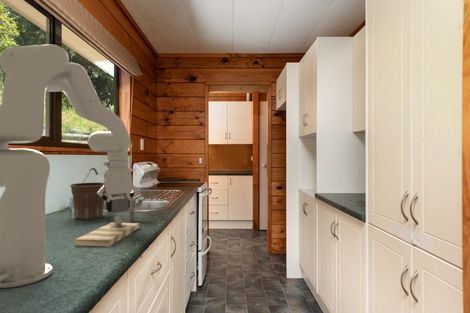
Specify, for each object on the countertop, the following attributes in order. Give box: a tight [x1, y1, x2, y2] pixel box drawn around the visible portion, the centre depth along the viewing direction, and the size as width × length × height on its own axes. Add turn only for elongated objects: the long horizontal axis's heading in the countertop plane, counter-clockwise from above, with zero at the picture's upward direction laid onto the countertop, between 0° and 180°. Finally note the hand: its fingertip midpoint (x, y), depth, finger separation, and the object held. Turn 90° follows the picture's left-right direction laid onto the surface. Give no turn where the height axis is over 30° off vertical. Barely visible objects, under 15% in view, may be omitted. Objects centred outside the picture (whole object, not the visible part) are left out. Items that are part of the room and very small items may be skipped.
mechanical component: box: [128, 197, 143, 222], centre depth 133 cm, size 3×10×10 cm, turn 78°
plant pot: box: [69, 182, 106, 221], centre depth 141 cm, size 16×16×16 cm
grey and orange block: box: [110, 196, 130, 214], centre depth 114 cm, size 6×6×5 cm
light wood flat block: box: [74, 216, 140, 247], centre depth 108 cm, size 24×12×6 cm, turn 175°
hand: (118, 210), depth 114 cm, fingers closed on grey and orange block, 6 cm apart
